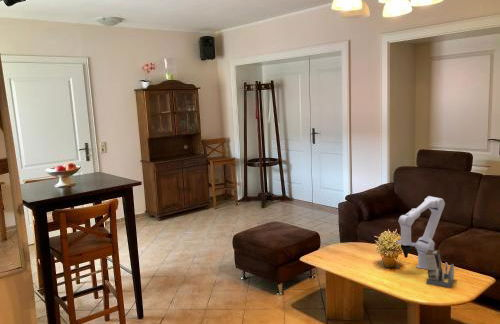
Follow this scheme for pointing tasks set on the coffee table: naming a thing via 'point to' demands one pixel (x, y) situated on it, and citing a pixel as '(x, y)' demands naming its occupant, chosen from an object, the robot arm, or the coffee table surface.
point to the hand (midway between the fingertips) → (406, 257)
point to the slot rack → (444, 275)
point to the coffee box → (434, 264)
